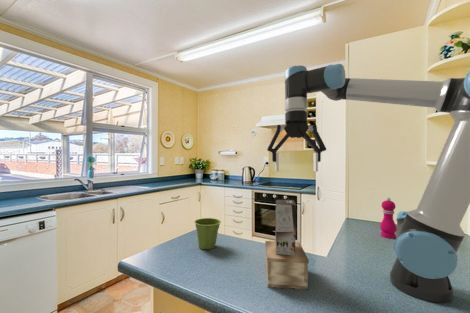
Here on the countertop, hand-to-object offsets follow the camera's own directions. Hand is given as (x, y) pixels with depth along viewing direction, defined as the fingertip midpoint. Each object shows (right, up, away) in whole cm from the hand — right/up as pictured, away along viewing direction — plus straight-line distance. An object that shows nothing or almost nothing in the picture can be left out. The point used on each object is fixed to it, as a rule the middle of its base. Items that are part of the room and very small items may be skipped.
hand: (296, 171), depth 81 cm
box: (-5, -35, -4) cm, 36 cm away
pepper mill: (+57, -36, +36) cm, 76 cm away
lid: (-5, -27, -4) cm, 28 cm away
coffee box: (-5, -26, -5) cm, 27 cm away
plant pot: (-34, -35, +20) cm, 53 cm away
